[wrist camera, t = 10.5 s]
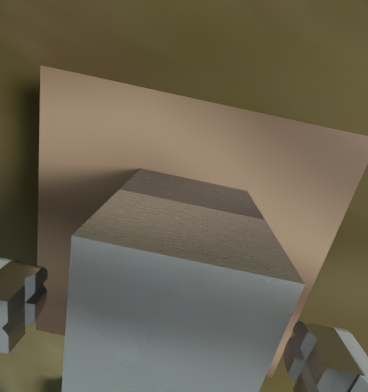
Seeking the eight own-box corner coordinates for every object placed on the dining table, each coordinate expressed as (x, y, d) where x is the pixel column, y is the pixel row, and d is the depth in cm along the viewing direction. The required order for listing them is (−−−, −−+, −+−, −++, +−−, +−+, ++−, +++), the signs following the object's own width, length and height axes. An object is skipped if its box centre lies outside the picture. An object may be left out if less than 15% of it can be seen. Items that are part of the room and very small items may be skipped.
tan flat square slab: (259, 332, 17) (271, 377, 14) (64, 291, 16) (35, 329, 14) (337, 132, 12) (378, 138, 10) (77, 76, 12) (40, 65, 9)
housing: (208, 320, 13) (216, 489, 7) (121, 302, 13) (57, 457, 7) (247, 190, 10) (305, 284, 5) (141, 168, 10) (71, 236, 5)
